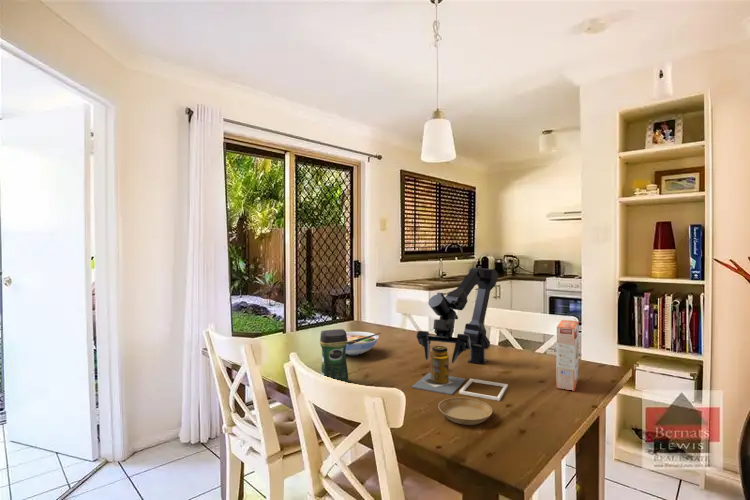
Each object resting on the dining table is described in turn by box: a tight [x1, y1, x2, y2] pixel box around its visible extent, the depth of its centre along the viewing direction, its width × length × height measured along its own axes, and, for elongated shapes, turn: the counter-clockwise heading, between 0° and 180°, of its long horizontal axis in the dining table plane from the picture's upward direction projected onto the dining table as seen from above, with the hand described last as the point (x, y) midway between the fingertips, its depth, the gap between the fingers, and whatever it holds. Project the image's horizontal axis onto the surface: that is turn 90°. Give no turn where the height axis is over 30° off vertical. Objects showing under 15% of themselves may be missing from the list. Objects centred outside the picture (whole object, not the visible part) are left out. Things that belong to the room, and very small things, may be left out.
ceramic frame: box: [458, 378, 508, 402], centre depth 128 cm, size 14×13×1 cm
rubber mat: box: [411, 372, 467, 396], centre depth 134 cm, size 16×14×1 cm
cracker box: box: [555, 319, 580, 392], centre depth 133 cm, size 14×6×21 cm, turn 148°
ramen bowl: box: [346, 331, 382, 356], centre depth 174 cm, size 25×23×8 cm
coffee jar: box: [319, 328, 349, 383], centre depth 136 cm, size 10×8×19 cm
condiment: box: [422, 345, 454, 387], centre depth 135 cm, size 7×8×12 cm
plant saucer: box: [437, 396, 493, 426], centre depth 109 cm, size 15×15×3 cm
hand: (439, 360), depth 134 cm, fingers open, 9 cm apart
